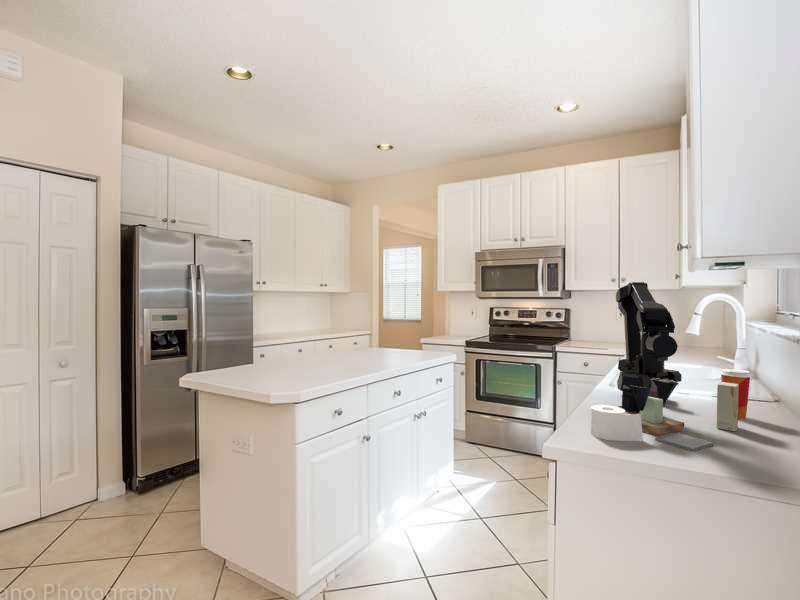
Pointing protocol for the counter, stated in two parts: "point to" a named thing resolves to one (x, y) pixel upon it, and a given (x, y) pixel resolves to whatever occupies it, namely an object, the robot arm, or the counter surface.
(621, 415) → the toilet paper
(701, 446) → the coaster
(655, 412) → the green block
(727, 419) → the skincare box
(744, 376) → the paper cup
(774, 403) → the counter surface
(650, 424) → the pocket block
